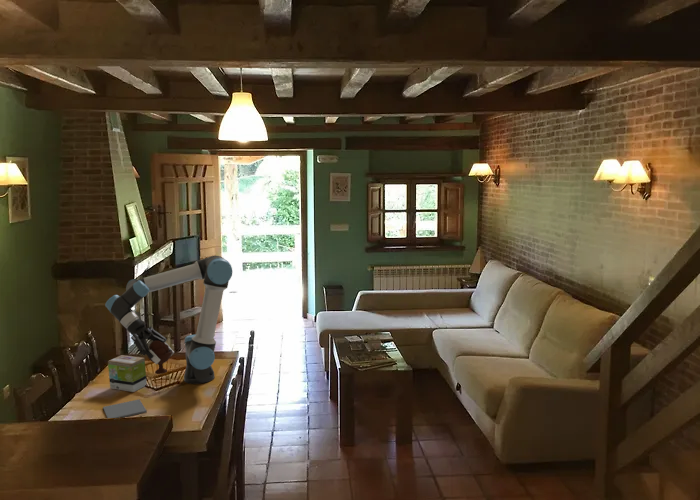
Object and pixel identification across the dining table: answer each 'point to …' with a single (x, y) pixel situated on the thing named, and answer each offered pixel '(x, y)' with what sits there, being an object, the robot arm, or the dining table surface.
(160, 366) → the ice cream bowl
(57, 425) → the dining table surface
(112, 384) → the tea box
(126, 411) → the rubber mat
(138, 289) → the robot arm
